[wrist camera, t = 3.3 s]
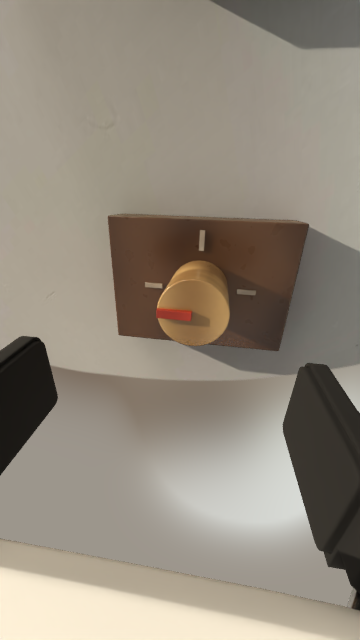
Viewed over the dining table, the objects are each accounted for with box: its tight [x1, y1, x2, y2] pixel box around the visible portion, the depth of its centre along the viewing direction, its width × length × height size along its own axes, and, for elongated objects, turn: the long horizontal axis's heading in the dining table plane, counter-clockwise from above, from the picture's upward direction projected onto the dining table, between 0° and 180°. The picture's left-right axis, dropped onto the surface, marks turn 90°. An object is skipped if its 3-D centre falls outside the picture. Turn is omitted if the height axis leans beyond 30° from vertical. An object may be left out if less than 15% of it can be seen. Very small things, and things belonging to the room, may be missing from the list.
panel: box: [108, 214, 309, 351], centre depth 21 cm, size 14×10×3 cm
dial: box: [156, 261, 230, 346], centre depth 17 cm, size 4×4×5 cm
